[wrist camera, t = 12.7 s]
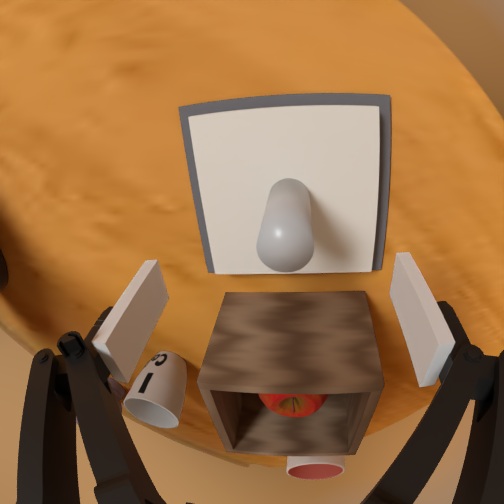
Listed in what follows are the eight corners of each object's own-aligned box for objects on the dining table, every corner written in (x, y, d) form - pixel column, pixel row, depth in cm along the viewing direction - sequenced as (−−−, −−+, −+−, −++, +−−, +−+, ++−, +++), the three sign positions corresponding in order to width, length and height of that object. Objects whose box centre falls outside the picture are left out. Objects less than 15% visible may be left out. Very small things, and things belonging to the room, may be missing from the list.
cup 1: (166, 337, 42) (141, 392, 33) (207, 368, 44) (190, 424, 36) (138, 354, 45) (114, 403, 37) (175, 382, 48) (158, 431, 39)
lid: (219, 264, 34) (190, 335, 25) (194, 114, 26) (140, 134, 17) (368, 262, 31) (389, 335, 22) (373, 105, 23) (418, 118, 14)
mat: (208, 271, 35) (208, 272, 34) (179, 106, 26) (178, 107, 26) (380, 268, 32) (381, 269, 31) (388, 95, 23) (390, 95, 22)
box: (242, 375, 44) (226, 451, 33) (225, 292, 36) (196, 382, 25) (350, 376, 41) (355, 454, 30) (364, 290, 33) (384, 384, 22)
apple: (259, 356, 41) (248, 423, 32) (267, 312, 37) (255, 385, 27) (319, 364, 41) (320, 431, 31) (336, 321, 36) (342, 395, 27)
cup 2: (280, 429, 52) (275, 474, 43) (308, 407, 47) (306, 459, 38) (323, 439, 53) (322, 482, 44) (354, 419, 48) (356, 467, 39)
